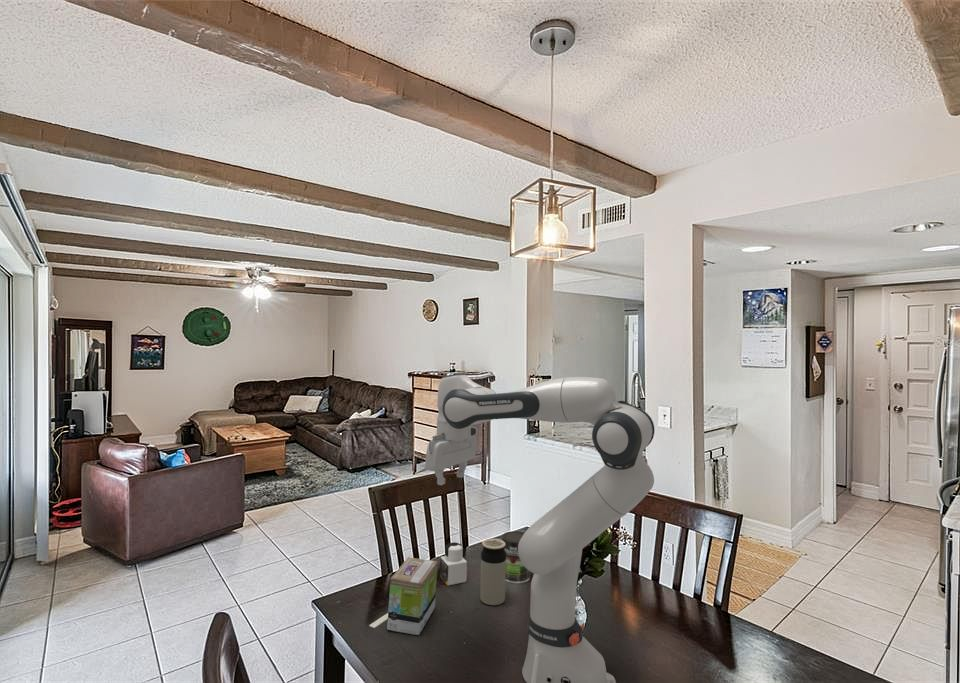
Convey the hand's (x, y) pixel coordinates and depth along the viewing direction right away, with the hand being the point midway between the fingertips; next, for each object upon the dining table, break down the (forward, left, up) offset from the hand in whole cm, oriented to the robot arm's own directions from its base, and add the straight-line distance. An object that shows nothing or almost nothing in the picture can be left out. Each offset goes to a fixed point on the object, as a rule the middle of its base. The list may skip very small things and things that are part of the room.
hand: (451, 480), depth 137 cm
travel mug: (-1, -23, -43) cm, 49 cm away
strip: (+20, +1, -43) cm, 47 cm away
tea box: (+13, 0, -43) cm, 45 cm away
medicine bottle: (+17, -27, -43) cm, 53 cm away
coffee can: (0, -41, -43) cm, 59 cm away
